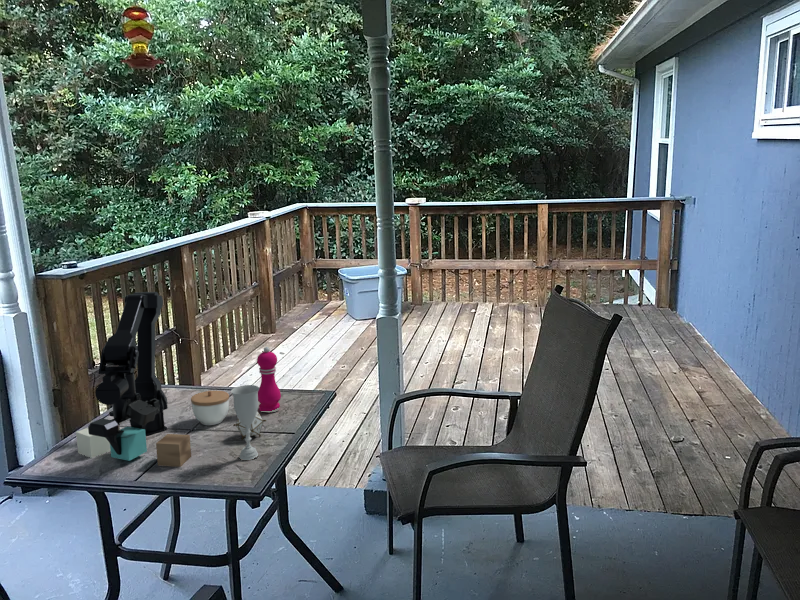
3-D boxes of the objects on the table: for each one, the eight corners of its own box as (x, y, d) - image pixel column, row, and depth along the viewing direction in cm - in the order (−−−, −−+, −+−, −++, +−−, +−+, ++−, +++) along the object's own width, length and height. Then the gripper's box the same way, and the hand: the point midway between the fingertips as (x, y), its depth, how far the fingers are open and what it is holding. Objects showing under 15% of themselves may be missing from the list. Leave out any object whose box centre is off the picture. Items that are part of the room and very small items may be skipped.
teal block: (129, 447, 172) (127, 426, 171) (147, 451, 170) (145, 429, 169) (111, 457, 167) (109, 434, 165) (129, 460, 164) (127, 438, 163)
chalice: (246, 449, 173) (242, 383, 170) (268, 453, 171) (264, 386, 168) (229, 460, 167) (225, 392, 163) (252, 464, 164) (248, 395, 161)
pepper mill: (258, 415, 198) (255, 350, 194) (256, 407, 205) (253, 345, 201) (282, 412, 200) (279, 348, 196) (280, 404, 207) (277, 343, 203)
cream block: (99, 445, 177) (97, 424, 176) (112, 450, 174) (110, 428, 173) (78, 453, 172) (75, 431, 171) (91, 458, 169) (89, 436, 168)
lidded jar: (187, 420, 194) (184, 390, 192) (222, 412, 201) (220, 382, 199) (200, 431, 186) (198, 399, 184) (236, 422, 192) (234, 391, 190)
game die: (254, 446, 185) (269, 413, 188) (259, 446, 177) (274, 411, 180) (224, 433, 182) (240, 400, 186) (228, 433, 175) (244, 398, 178)
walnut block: (169, 455, 170) (167, 433, 169) (191, 456, 169) (189, 434, 168) (157, 465, 164) (155, 443, 163) (180, 467, 163) (178, 444, 162)
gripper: (118, 407, 153) (124, 469, 156) (174, 383, 170) (179, 440, 173) (83, 401, 158) (90, 462, 161) (141, 379, 175) (146, 434, 178)
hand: (128, 449), depth 168 cm, fingers closed on teal block, 6 cm apart
